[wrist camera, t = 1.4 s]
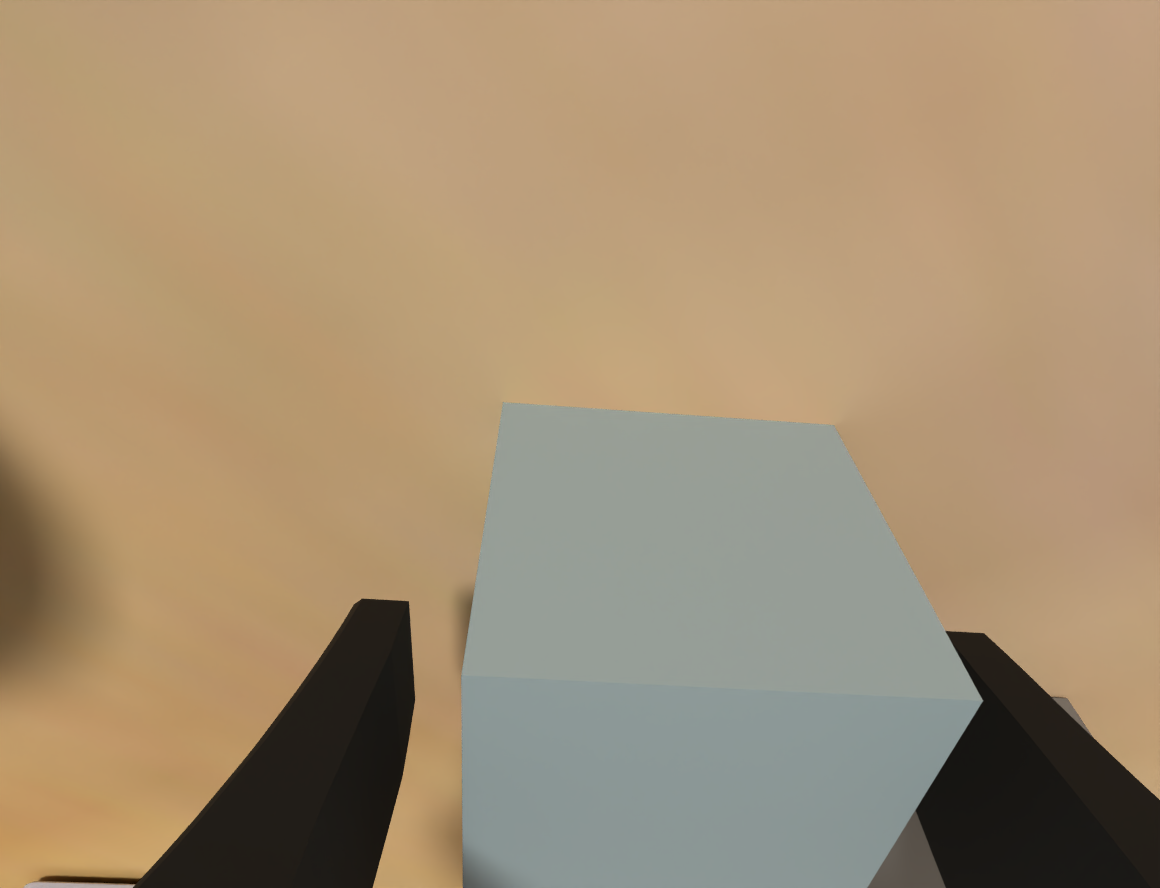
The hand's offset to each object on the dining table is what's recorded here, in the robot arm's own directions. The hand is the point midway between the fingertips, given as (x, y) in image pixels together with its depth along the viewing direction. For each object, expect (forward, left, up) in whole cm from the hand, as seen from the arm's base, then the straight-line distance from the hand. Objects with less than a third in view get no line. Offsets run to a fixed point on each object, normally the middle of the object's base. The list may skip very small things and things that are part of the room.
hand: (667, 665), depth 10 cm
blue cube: (0, 0, -3) cm, 3 cm away
